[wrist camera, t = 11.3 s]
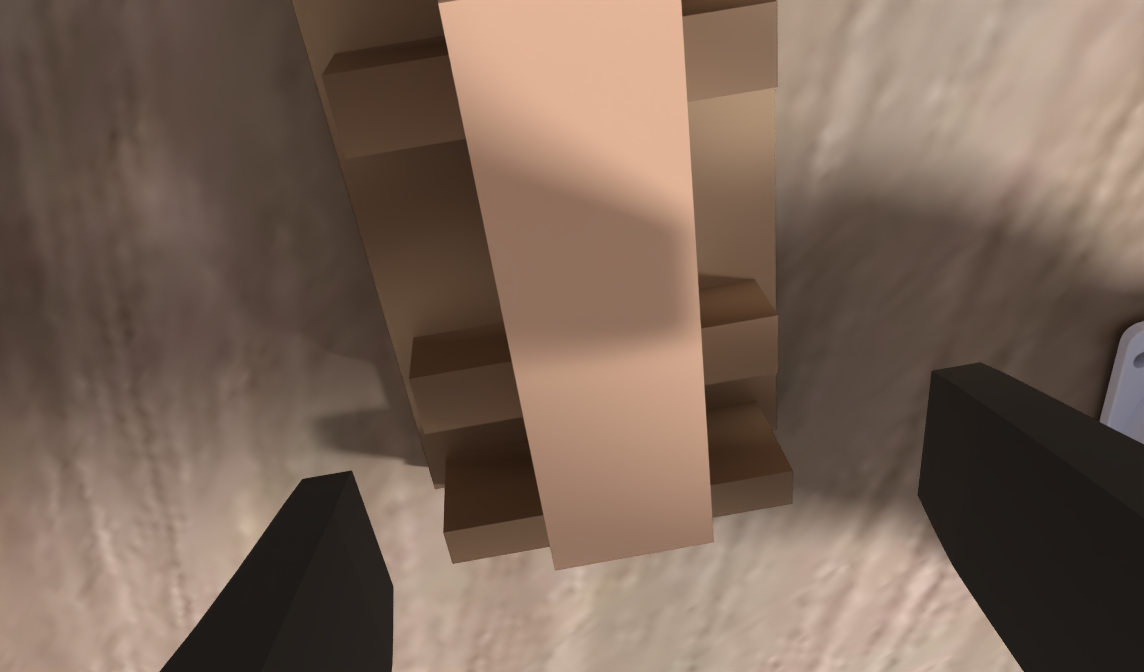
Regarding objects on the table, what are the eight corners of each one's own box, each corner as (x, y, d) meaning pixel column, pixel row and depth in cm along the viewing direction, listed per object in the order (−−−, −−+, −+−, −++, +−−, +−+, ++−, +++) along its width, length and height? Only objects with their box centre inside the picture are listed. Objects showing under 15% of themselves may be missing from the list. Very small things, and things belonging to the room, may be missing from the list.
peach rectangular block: (669, 414, 19) (713, 542, 15) (538, 437, 19) (555, 570, 15) (625, -68, 14) (679, -36, 10) (445, -39, 14) (437, 3, 10)
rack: (766, 411, 22) (813, 499, 19) (436, 468, 22) (430, 567, 19) (759, -205, 15) (832, -215, 12) (264, -127, 15) (214, -117, 12)
